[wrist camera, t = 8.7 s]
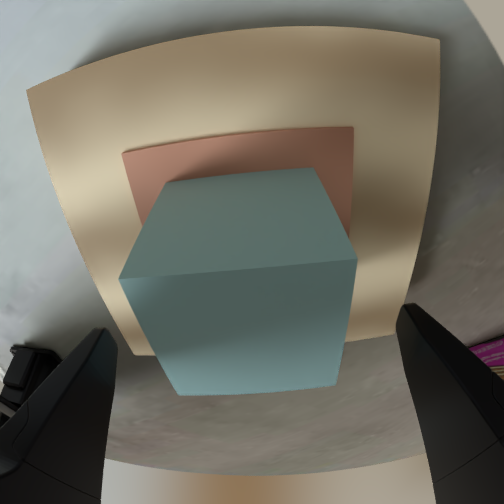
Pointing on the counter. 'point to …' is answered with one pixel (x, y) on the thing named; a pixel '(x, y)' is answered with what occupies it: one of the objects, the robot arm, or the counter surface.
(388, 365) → the counter surface
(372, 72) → the stack base
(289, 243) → the teal block
